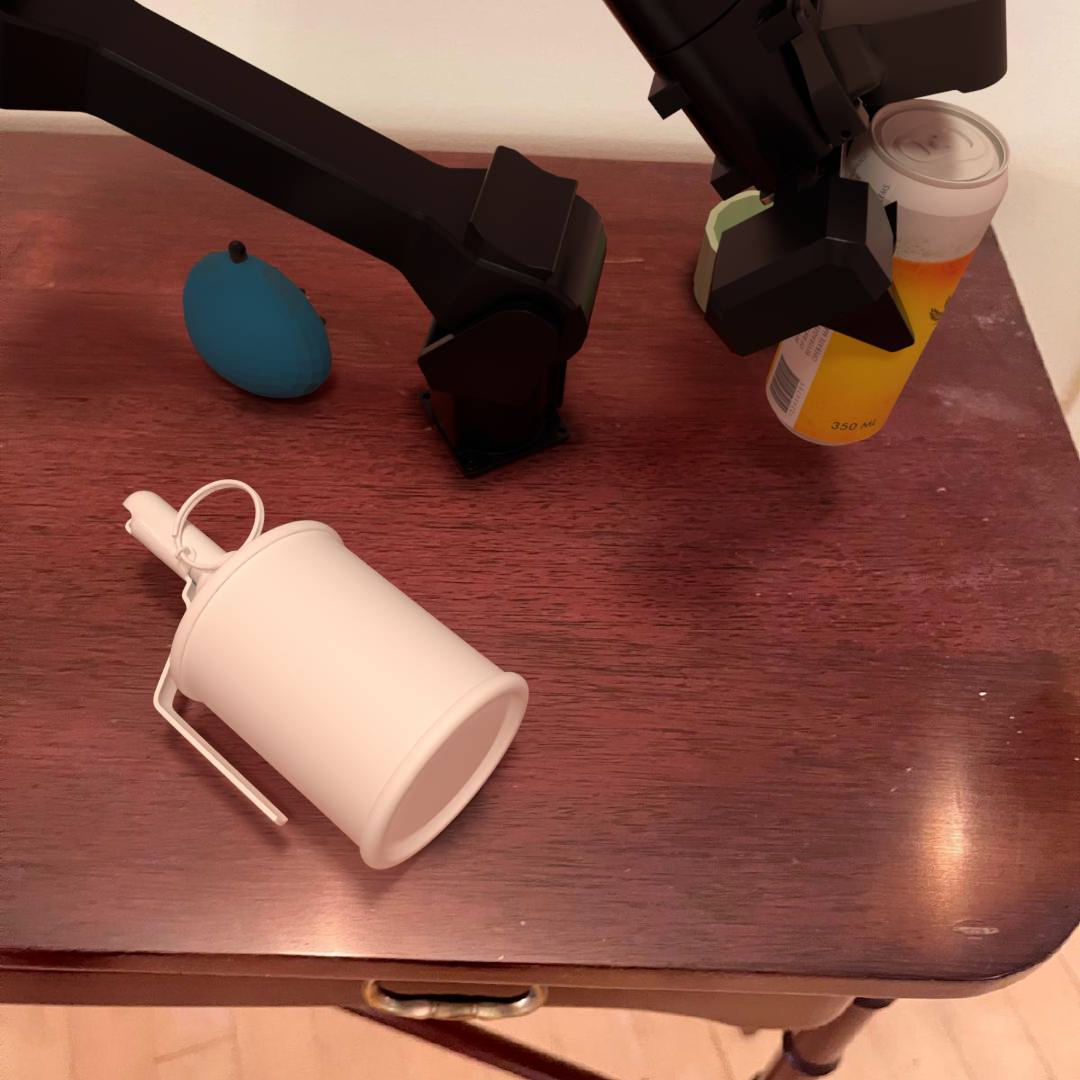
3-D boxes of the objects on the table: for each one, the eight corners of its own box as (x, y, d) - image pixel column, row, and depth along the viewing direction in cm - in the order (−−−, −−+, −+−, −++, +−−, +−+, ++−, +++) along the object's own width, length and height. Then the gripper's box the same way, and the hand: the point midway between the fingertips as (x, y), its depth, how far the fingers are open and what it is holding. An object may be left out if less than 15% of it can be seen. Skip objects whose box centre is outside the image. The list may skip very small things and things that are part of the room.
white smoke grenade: (547, 705, 45) (246, 468, 51) (508, 656, 36) (152, 379, 43) (393, 902, 43) (101, 629, 49) (313, 898, 34) (-27, 569, 41)
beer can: (907, 430, 50) (1056, 166, 37) (809, 470, 48) (931, 206, 35) (833, 349, 53) (948, 79, 40) (738, 384, 51) (827, 112, 38)
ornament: (356, 376, 58) (336, 234, 49) (319, 433, 55) (291, 293, 47) (226, 337, 59) (186, 191, 51) (184, 391, 56) (134, 246, 48)
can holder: (745, 359, 60) (762, 301, 56) (667, 271, 64) (678, 212, 60) (857, 315, 63) (881, 258, 59) (775, 234, 67) (793, 175, 63)
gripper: (931, -9, 25) (1135, 384, 34) (928, -267, 36) (1084, 81, 44) (590, 197, 32) (828, 480, 41) (671, -69, 43) (847, 199, 51)
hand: (904, 296), depth 44 cm, fingers closed on beer can, 6 cm apart
